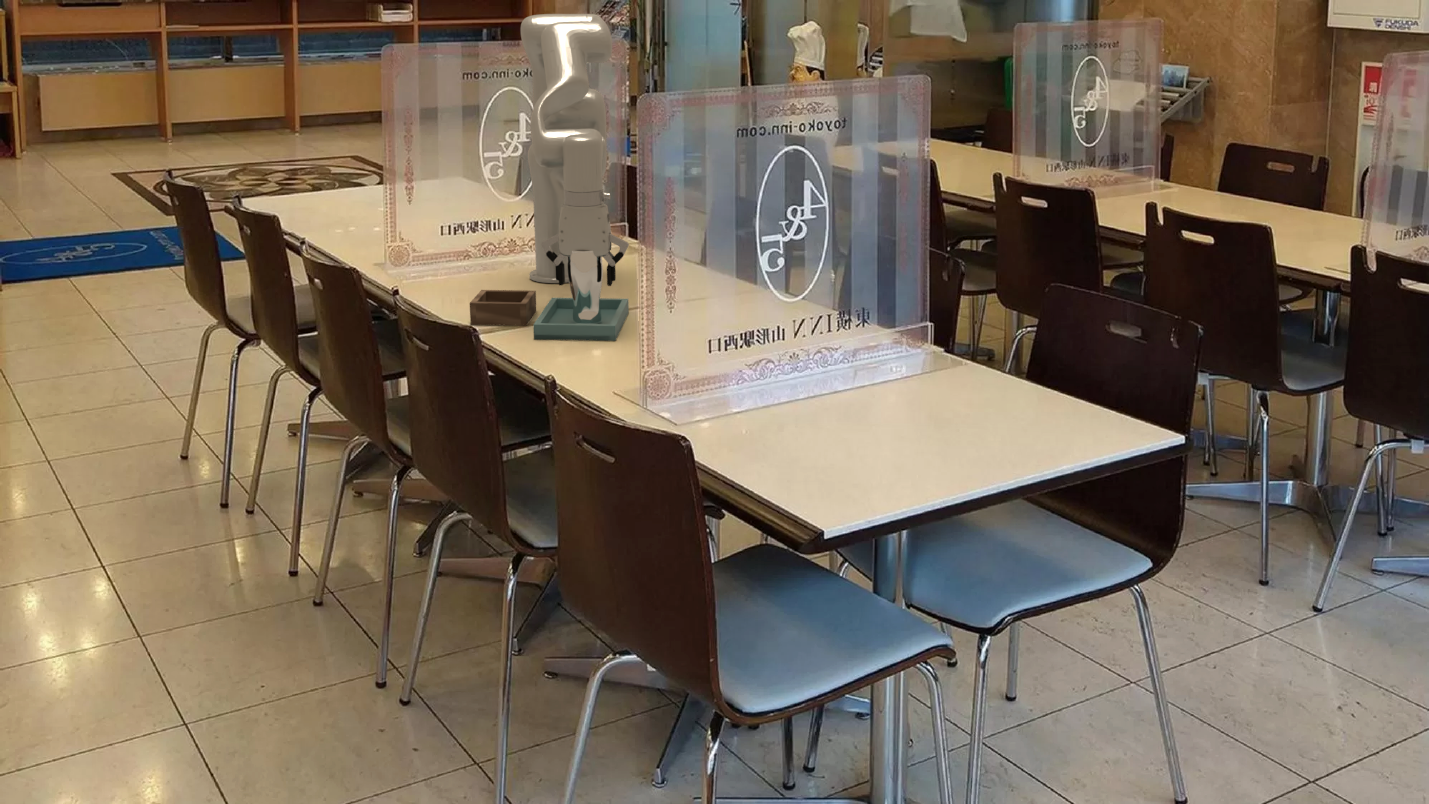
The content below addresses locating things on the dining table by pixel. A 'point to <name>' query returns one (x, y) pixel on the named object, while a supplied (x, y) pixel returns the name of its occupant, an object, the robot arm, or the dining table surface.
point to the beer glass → (585, 286)
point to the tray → (560, 327)
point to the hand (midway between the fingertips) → (585, 284)
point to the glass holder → (503, 307)
